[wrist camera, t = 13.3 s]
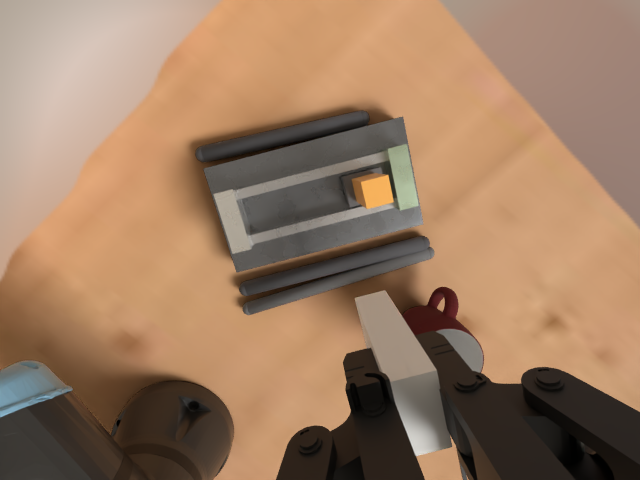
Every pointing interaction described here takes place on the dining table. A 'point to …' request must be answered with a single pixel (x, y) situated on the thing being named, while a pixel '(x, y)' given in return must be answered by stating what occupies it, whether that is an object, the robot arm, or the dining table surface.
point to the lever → (367, 188)
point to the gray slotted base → (312, 195)
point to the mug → (446, 326)
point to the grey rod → (334, 265)
